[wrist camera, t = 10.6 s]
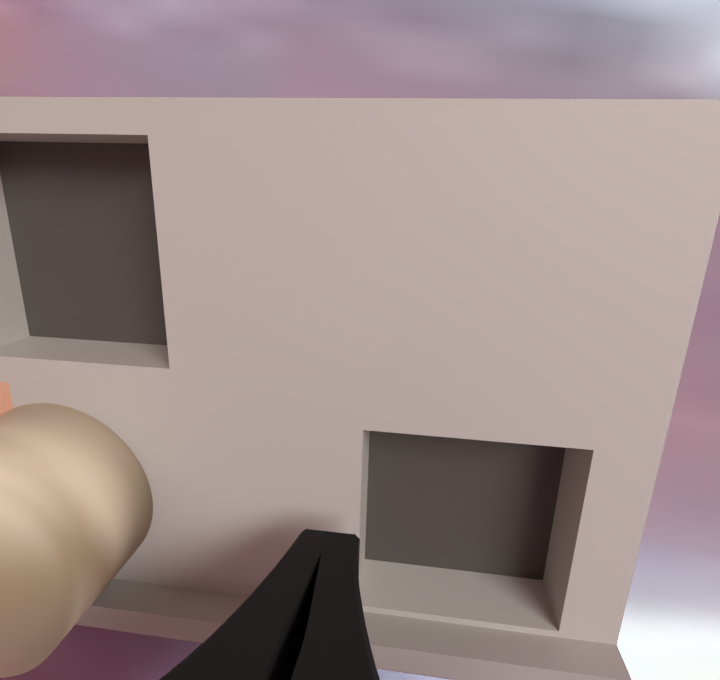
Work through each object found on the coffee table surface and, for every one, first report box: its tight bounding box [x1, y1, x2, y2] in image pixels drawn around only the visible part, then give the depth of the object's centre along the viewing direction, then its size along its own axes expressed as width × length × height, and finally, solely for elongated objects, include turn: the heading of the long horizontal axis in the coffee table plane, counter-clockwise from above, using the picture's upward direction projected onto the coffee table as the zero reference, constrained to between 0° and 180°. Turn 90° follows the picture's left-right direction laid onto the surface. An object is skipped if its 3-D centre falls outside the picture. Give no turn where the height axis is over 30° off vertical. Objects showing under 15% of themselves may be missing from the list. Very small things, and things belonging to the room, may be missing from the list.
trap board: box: [0, 97, 720, 680], centre depth 12 cm, size 14×24×4 cm, turn 88°
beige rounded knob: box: [0, 403, 153, 678], centre depth 12 cm, size 5×5×4 cm
